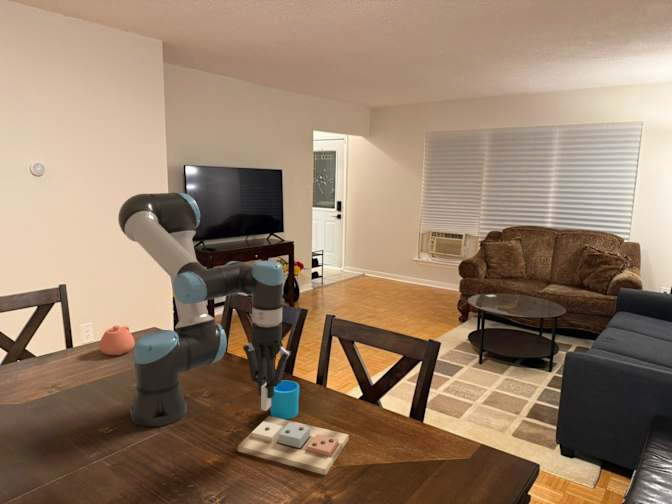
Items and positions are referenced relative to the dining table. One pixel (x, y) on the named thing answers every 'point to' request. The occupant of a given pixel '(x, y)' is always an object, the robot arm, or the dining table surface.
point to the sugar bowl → (116, 341)
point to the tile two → (294, 435)
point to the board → (291, 454)
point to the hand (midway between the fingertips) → (266, 407)
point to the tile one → (267, 431)
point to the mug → (285, 400)
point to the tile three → (323, 445)
